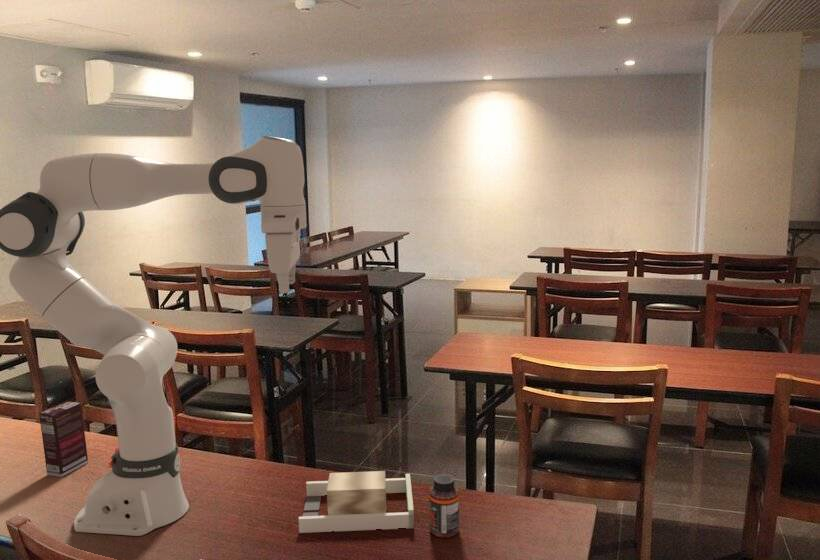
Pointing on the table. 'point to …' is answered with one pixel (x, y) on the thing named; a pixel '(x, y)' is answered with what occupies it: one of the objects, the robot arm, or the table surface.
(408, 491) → the box
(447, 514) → the supplement bottle
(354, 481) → the birch block
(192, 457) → the table surface
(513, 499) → the table surface
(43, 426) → the supplement box
